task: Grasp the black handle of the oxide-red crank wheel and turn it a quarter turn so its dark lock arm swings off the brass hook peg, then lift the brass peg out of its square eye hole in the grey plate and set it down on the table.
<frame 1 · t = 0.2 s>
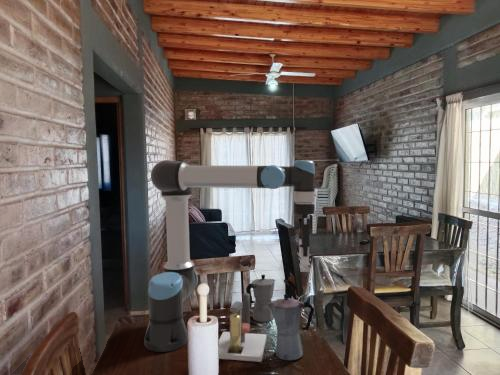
hand: (303, 260, 131), 28 cm above the table, fingers open, 13 cm apart
hook peg: (235, 354, 118), resting in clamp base
moka pot: (290, 354, 118), on the table
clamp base: (241, 345, 124), on the table
coffeepot: (261, 318, 147), on the table
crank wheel: (240, 320, 123), point 9 cm above the table, hinge at 0.0°
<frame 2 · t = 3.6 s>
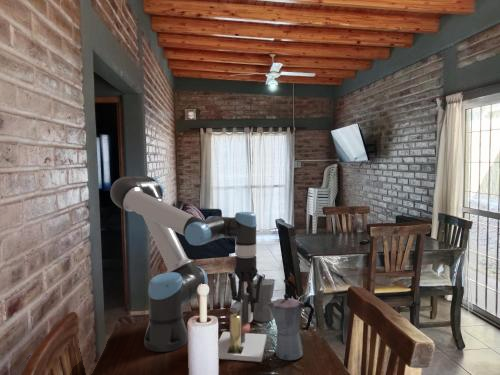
hand: (246, 320, 128), 7 cm above the table, fingers closed on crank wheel, 3 cm apart
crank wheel: (240, 320, 123), point 9 cm above the table, hinge at 0.0°, touching gripper
everything else where it was.
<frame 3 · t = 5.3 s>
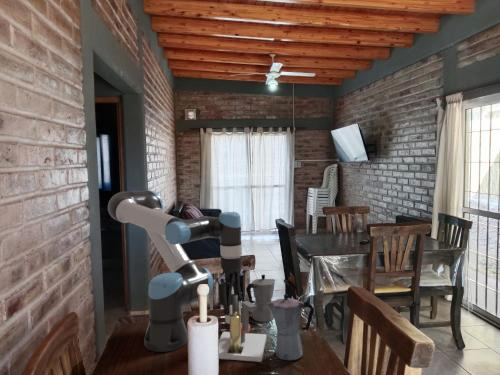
hand: (233, 320, 127), 7 cm above the table, fingers open, 4 cm apart
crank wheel: (242, 320, 123), point 9 cm above the table, hinge at 52.3°, touching gripper
everything else where it was.
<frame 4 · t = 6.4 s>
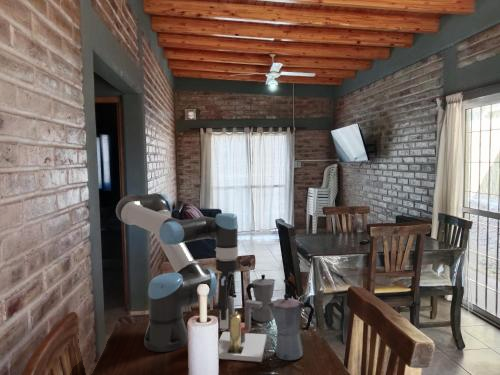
hand: (227, 321, 124), 8 cm above the table, fingers open, 9 cm apart
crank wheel: (242, 320, 123), point 9 cm above the table, hinge at 82.3°
everything else where it was.
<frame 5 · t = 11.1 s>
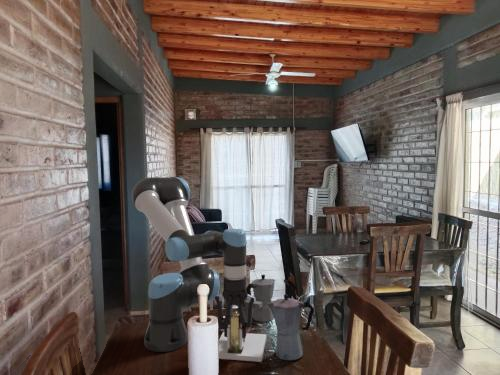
hand: (235, 346, 118), 3 cm above the table, fingers closed on hook peg, 3 cm apart
hook peg: (235, 354, 118), resting in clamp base, touching gripper
everything else where it was.
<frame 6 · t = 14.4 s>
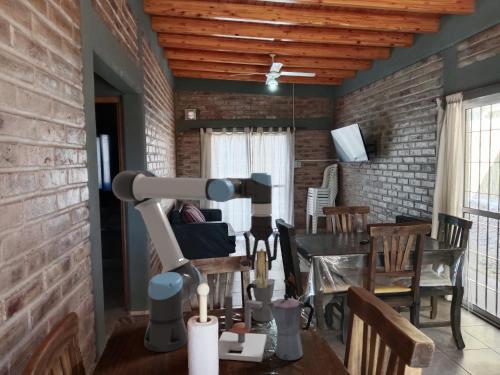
hand: (261, 278, 131), 21 cm above the table, fingers closed on hook peg, 3 cm apart
hook peg: (261, 286, 131), point 18 cm above the table, touching gripper
everything else where it was.
when the fingers open (4 cm above the table, at t = 17.8 s): hook peg stays where it is, on the table.
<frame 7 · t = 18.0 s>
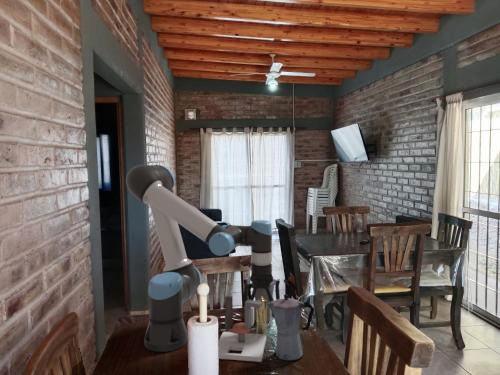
hand: (261, 324, 131), 4 cm above the table, fingers open, 6 cm apart
hook peg: (261, 335, 131), on the table
everything else where it was.
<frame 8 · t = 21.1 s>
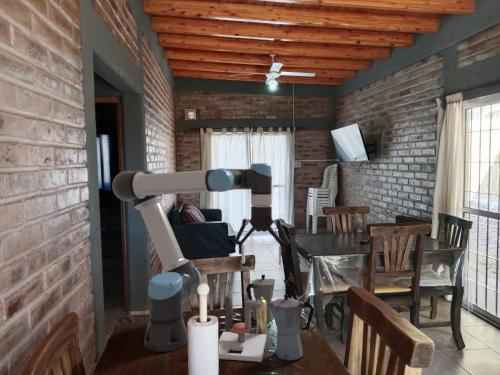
hand: (261, 263, 130), 27 cm above the table, fingers open, 13 cm apart
nothing on the table moved.
at the end: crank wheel at +82° (first picture: +0°); hook peg inside the target area (0.1 cm from its centre), on the table; hook peg tilted 0° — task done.
